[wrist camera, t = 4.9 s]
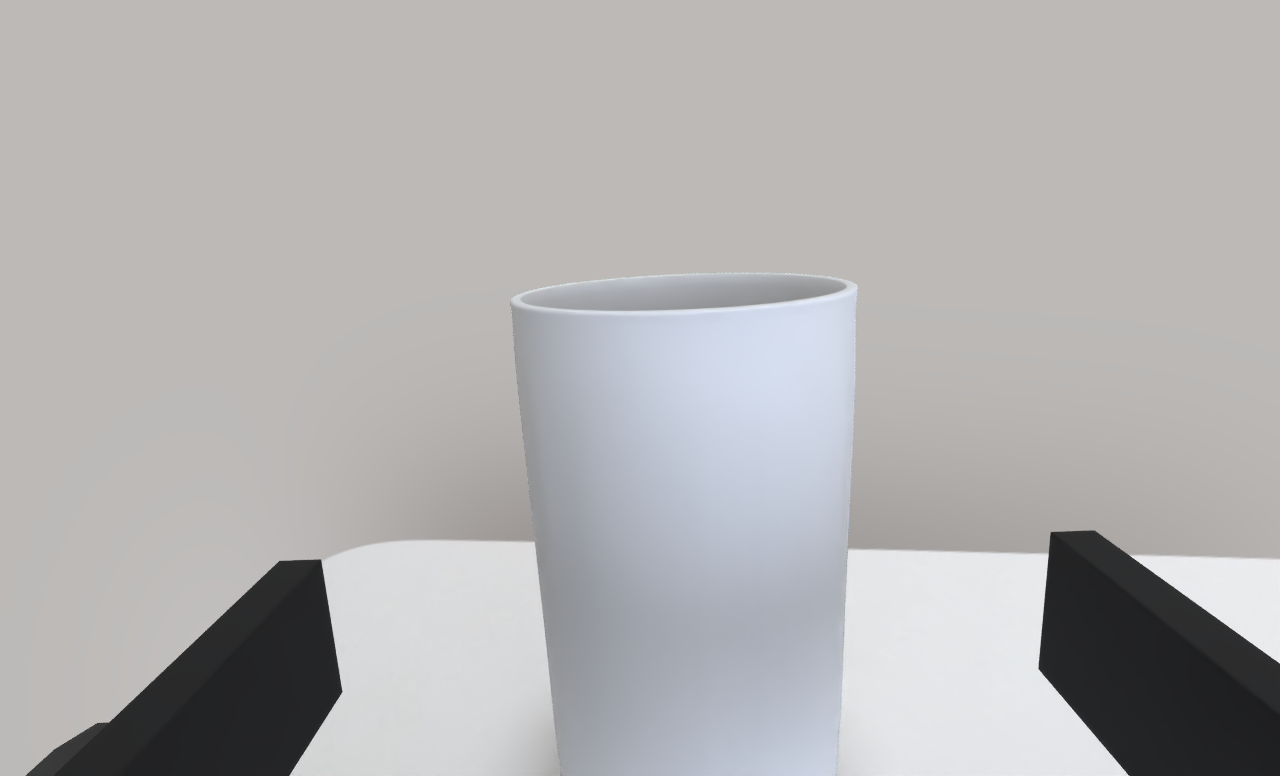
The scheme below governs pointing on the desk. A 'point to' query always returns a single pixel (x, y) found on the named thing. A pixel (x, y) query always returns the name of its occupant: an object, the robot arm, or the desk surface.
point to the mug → (691, 517)
